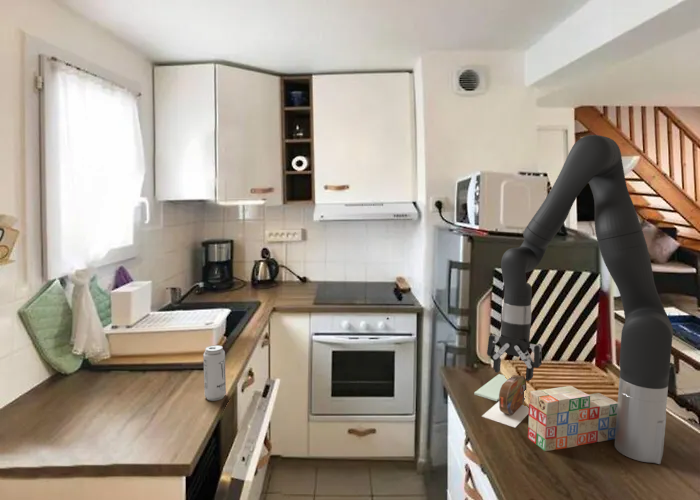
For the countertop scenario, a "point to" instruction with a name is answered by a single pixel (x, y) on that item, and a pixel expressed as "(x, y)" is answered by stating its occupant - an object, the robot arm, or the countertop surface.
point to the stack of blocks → (570, 418)
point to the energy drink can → (214, 372)
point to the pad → (492, 388)
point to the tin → (512, 394)
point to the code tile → (507, 415)
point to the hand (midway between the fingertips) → (512, 375)
